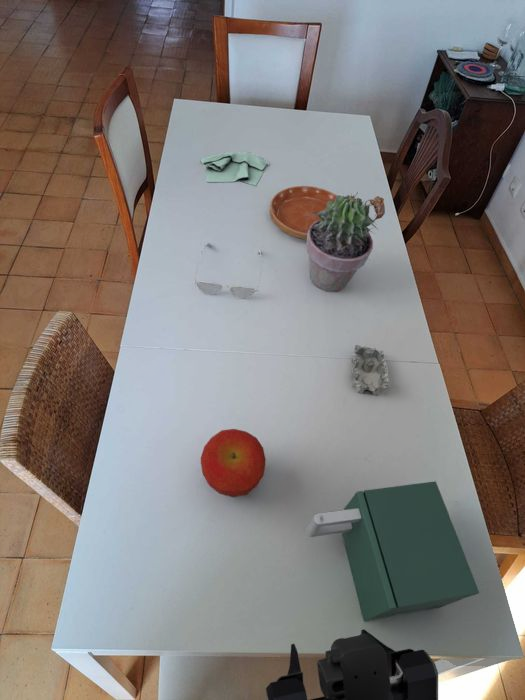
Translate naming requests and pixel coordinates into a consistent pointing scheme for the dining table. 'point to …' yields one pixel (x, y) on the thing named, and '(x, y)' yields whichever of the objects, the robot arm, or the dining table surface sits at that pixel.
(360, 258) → the potted plant
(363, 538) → the cooler door
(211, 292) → the eyeglasses
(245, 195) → the dining table surface
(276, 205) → the saucer
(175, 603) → the dining table surface
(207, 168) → the cloth
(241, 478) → the apple
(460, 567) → the box
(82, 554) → the dining table surface
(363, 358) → the egg carton
